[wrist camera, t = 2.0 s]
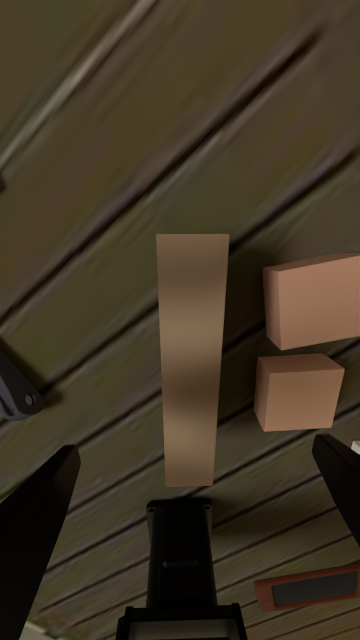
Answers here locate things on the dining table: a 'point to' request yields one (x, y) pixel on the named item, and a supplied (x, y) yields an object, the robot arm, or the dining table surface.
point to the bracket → (17, 393)
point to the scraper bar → (191, 350)
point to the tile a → (296, 391)
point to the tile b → (312, 300)
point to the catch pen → (356, 446)
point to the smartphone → (308, 588)
